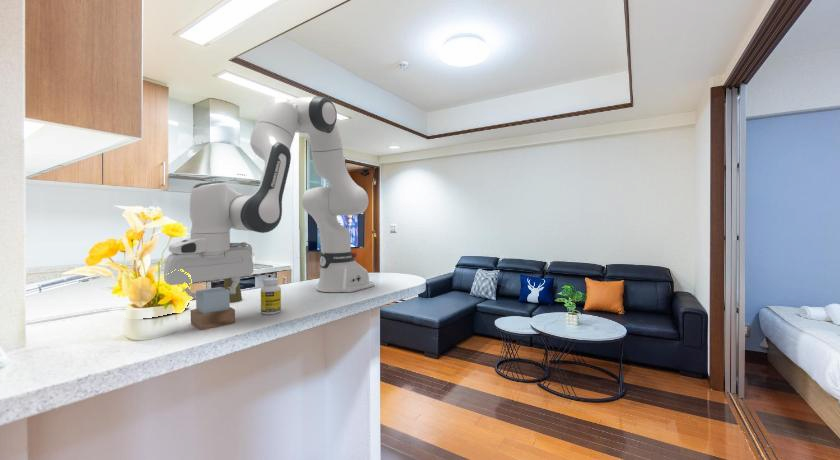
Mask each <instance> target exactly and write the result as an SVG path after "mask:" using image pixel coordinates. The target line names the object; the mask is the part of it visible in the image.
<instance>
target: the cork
mask: <svg viewBox="0 0 840 460" xmlns="http://www.w3.org/2000/svg"><path fill="white" fill-rule="evenodd" d="M232 283H233V281H232V278H226V279H223V287H222V288H225V289H228V287H231V285H232ZM229 298H230V304H233V303H239V302H241V301H243V296H242V289H241V285H240V282H239V283H238V285H237V287H236V294H231V295H229Z"/></svg>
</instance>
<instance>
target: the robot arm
mask: <svg viewBox="0 0 840 460" xmlns="http://www.w3.org/2000/svg"><path fill="white" fill-rule="evenodd" d="M337 114H338V113H337V109H336V106H335V105H334V103H333V102H332V100H330V98H327V97H324V96H319V95H318V96H317V95H316V96H303V97H302V96H300V97H297V98H291V99H286V98H282V97H274V98H271V99H270V100H269V101H268V102H267V103H266V104H265V106H264V107H263V109H262V110H261V111H260V114H259V116H258V117H257V120H256V122H255V124H254V127H253V129H252V132H251V135H250V142H249V145H250V147H251V150H252V151H253V152H254V153H255V154H256V156H257V157H259V158H260V159H262V160H263V161H264V167H263V172H262V175H261V178H260V182H259V185H258V188H257V190H256V191H255V192H254V193H252V194H251V195H245V194H243V193H240V192H239V191H236V190H234V189H232V188H231V187H230V186H228V185H227V184H226V182H223V181H218V180H217V181H209V182H202V183H197V184H195V185H194V186H192V188H191V193H190V198H189V217H190V220H191V229H190V237H189V238H187V239H184V240H180V241H177V242H174V243H171V244H169V245H168V251H169V252H170V254H169V255H168V256H166V258H165V261H164V269H163V279H164V282H165V283H166V284H168V285H169V286H176V285H177V286H178V285H182V284H183V283H184V282H185V283H187V284H188V286H189V287H187V288H186V289H185V290H184V292H185V291H186V292H185V293H186V295H187V294H188V295H190V296H192V297H193V299H192V300H190V302H191V301H192V302H193V301H196V292H194V291H193V292H192V291H191V290H190V289H189V288H191V287H190V285H189V283H191V279H192V283H191V284H193V283H200V282H208V281H209V282H210V281H215V280H217V281H218V280H224V279H226V278H232V281H233V283H232V285H231V287H228V290H229V295H231V294H236V287H237V285H238V283H239V284H240V282H241V277H249V276H252V275H253V273H254V262H253V259H252V257H253V256H252V255H253V247H252V245H251V244H249V243H247V242H231V229H232V230H236V231H238V230H239V231H244V232H245V231H248V232H249V231H250V232H256V233H260V234H261V233H262V234H265V233H270V232H271V231H274V230H275V228H277V227H278V225H279V224H280V222H281V220H282V215H283V196H284V191H285V188H286V183H287V180H288V179H287V178H288V175H289V170H290V165H291V159H292V158H291V157H292V154H291V147H292V144H293V141H294V137H295V135H296V133H297V134H299V133H300V134H307V135H308V136H309V147H310V150H311V152H310V153H311V158H312V164H313V169H314V171H315V173H316V175H317V176H319V177H320V178H322V179H324V180H325V181H326V182H328V184H329V185H330V186H317V187H312V188H309V189H306V190H305V191H304V193H303V194H302V199H301V203H302V207H303V209H304V212H306V213H307V214H308V215H309V216H311V217H312V218H313V220H314V221H315V223H316V225H317V228H318V231H319V238H320V253H319V265H320V266H319V267H320V271H319V281H318V285H317V287H316V291H318V292H324V293H353V292H356V291H360V290H364V289H368V288H372V287H375V286H376V283H375V282H374V281H370V276H369V272H368V270H367V269H366V268H364V267H363V266H362V265H361V264H360V263H358V262H357V261H356V259H355V258H357V259H358V258H359V252H356V251H354V252H352V249H351V246H352V245H351V232H350V230H349V228H347V227H346V226H344V225H342V224H341V223H340V222H339V221H338V218H337V216H354V215H355V216H356V215H359V214H364V212H365V211H366V210H367V208H368V206H369V195H368V193H367V191H366V190H365V189H364V188H363V187H361V186H360V185H358V184H357V183H356V182H355V180H353V179H352V177H351V175H350V173H349V171H348V169H347V166H346V161H345V156H344V155H345V154H344V149H343V143H342V139H341V135H340V131H339V128H338V126H337V118H338V117H337ZM175 269H176V270H175ZM180 269H183V270H184V271H185V272H187V273H189V274H190V275H191V279H189V278H190V277H188V275H186V274H187V273H186V274H184V273H185V272H181V271H182V270H181V271H180ZM174 270H175V271H174ZM178 270H179V271H178ZM172 271H173V272H172ZM171 272H172V273H171ZM168 273H169V274H168ZM166 274H167V275H166Z"/></svg>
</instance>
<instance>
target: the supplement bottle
mask: <svg viewBox="0 0 840 460" xmlns="http://www.w3.org/2000/svg"><path fill="white" fill-rule="evenodd" d="M262 283H263V284H262V285H263V286H262V287H261V288H260V313H261V314H262V315H269V316H270V315H275V314H279V313H280V312H281V311H282V291H281V289H282V288H281V286H280V285H278V284H279V278H277V277H267V278H263V279H262Z"/></svg>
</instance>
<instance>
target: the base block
mask: <svg viewBox="0 0 840 460" xmlns="http://www.w3.org/2000/svg"><path fill="white" fill-rule="evenodd" d="M190 324H191V325H192V326H194V327H195V328H196V329H198V330H200V331H203V330H208V329H213V328H219V327H223V326H228V325H233V324H236V309H235V308H233V307H231V306H230V309H227V310H221V311H216V312H211V313H205V314H204V313H202V312H200V311H198V310H196V308H193V309H190Z"/></svg>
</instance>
